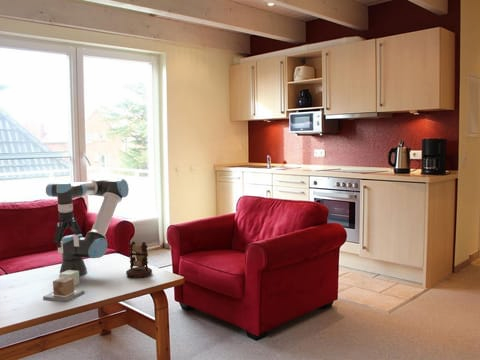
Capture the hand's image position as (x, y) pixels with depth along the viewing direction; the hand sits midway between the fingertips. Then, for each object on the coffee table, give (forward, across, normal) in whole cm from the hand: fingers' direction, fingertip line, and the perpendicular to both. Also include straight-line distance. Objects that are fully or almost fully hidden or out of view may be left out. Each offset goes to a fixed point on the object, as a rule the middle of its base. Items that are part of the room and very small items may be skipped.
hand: (68, 249), depth 254 cm
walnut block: (+18, -16, -8) cm, 25 cm away
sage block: (+20, +1, +2) cm, 20 cm away
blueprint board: (+19, -16, -8) cm, 26 cm away
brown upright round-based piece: (+21, +26, -27) cm, 43 cm away
